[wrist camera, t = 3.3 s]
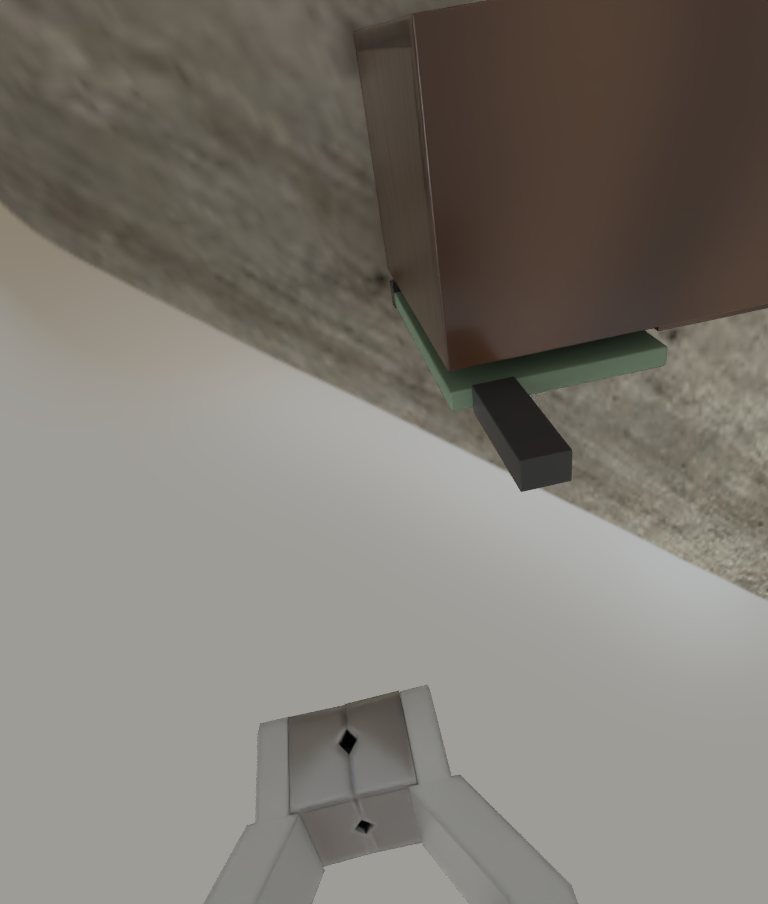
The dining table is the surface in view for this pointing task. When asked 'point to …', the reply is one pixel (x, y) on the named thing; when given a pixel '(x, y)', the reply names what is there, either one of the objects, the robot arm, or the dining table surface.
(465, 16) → the cupboard
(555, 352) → the door
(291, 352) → the dining table surface
